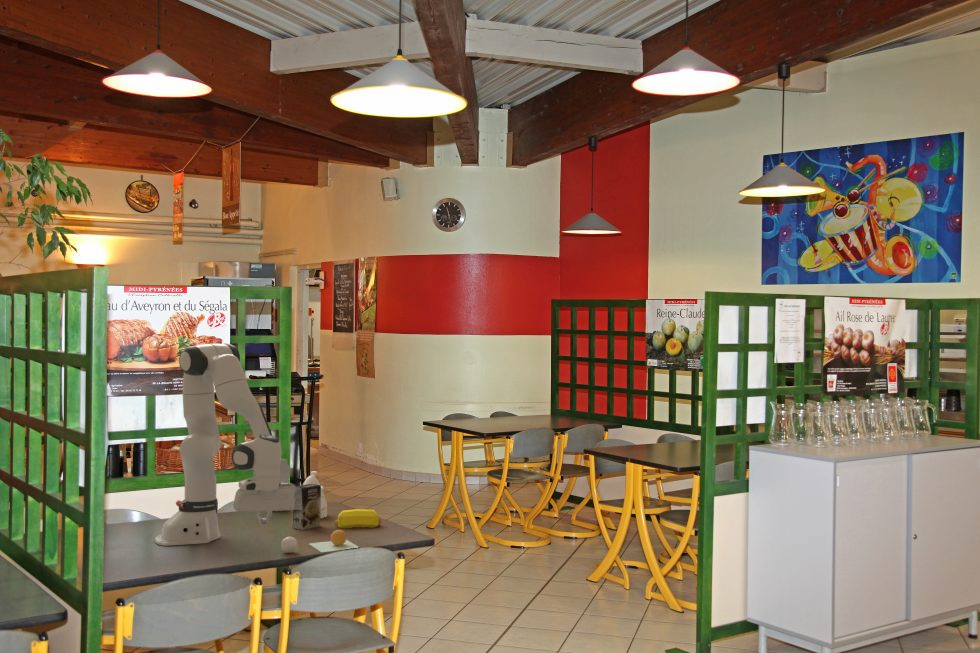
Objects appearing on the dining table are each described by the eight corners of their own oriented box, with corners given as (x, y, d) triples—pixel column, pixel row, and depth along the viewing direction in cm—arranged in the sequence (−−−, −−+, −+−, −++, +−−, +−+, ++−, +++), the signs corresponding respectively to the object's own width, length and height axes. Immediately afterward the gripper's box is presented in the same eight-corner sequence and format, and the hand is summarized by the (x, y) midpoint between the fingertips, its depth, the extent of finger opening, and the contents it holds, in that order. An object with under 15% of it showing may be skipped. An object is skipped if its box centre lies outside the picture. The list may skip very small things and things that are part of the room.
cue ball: (297, 542, 304) (298, 555, 306) (296, 532, 308) (297, 544, 311) (280, 545, 302) (282, 557, 305) (279, 534, 307) (281, 547, 309)
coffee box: (303, 530, 341) (303, 488, 341) (291, 528, 345) (292, 486, 345) (321, 526, 348) (321, 484, 348) (310, 524, 352) (310, 483, 352)
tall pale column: (263, 511, 376) (263, 459, 376) (264, 509, 380) (265, 457, 380) (289, 511, 377) (289, 458, 377) (290, 509, 381) (290, 457, 381)
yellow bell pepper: (381, 528, 346) (380, 524, 354) (382, 511, 346) (381, 507, 354) (334, 529, 343) (334, 525, 351) (334, 512, 343) (334, 508, 351)
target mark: (321, 552, 307) (321, 552, 307) (308, 544, 319) (308, 543, 319) (359, 548, 314) (359, 547, 314) (345, 539, 326) (345, 539, 326)
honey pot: (305, 512, 375) (306, 469, 375) (332, 514, 371) (333, 471, 371) (288, 518, 363) (289, 473, 363) (316, 520, 359) (317, 475, 359)
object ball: (346, 548, 316) (332, 546, 313) (340, 544, 321) (326, 542, 318) (350, 532, 317) (336, 530, 314) (344, 529, 322) (330, 527, 319)
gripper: (293, 480, 313) (290, 520, 313) (234, 482, 303) (231, 523, 303) (298, 484, 307) (295, 524, 307) (238, 485, 297) (235, 527, 297)
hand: (263, 523), depth 305 cm, fingers closed
